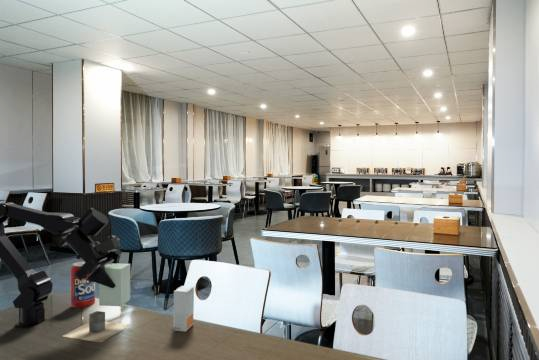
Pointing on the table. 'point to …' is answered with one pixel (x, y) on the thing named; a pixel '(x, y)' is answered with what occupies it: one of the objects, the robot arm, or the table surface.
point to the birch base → (96, 336)
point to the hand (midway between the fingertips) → (119, 283)
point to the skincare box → (183, 308)
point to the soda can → (81, 289)
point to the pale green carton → (122, 282)
